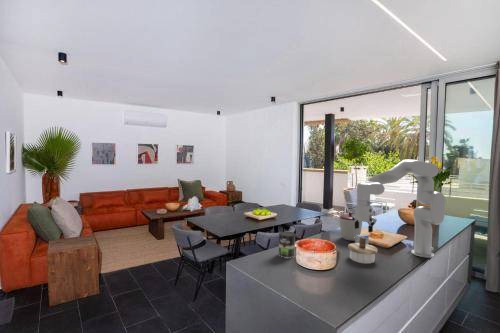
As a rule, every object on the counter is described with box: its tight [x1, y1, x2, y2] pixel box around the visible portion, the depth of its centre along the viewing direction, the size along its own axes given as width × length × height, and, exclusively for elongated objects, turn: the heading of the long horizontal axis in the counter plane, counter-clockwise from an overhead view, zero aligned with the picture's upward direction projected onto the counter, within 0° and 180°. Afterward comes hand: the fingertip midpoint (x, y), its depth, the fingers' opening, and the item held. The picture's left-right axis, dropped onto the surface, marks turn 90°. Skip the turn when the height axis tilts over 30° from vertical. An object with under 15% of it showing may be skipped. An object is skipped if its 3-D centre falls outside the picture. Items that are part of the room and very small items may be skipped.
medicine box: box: [354, 234, 370, 245], centre depth 184 cm, size 8×4×9 cm, turn 105°
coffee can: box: [278, 231, 296, 259], centre depth 167 cm, size 10×10×14 cm
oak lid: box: [347, 237, 378, 255], centre depth 163 cm, size 17×17×7 cm
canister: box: [338, 211, 363, 242], centre depth 203 cm, size 18×18×21 cm
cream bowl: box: [349, 250, 376, 264], centre depth 163 cm, size 14×14×6 cm
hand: (363, 230), depth 162 cm, fingers open, 9 cm apart
